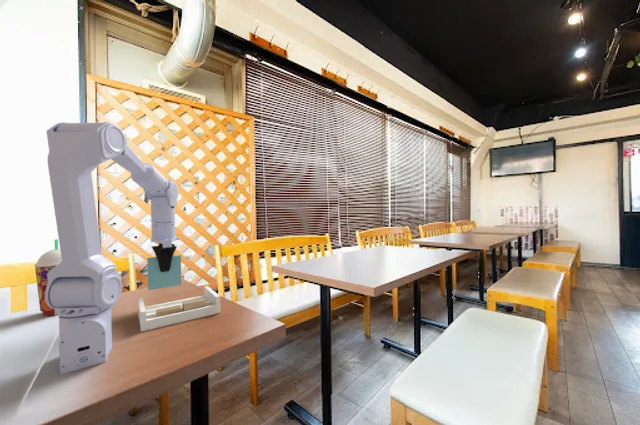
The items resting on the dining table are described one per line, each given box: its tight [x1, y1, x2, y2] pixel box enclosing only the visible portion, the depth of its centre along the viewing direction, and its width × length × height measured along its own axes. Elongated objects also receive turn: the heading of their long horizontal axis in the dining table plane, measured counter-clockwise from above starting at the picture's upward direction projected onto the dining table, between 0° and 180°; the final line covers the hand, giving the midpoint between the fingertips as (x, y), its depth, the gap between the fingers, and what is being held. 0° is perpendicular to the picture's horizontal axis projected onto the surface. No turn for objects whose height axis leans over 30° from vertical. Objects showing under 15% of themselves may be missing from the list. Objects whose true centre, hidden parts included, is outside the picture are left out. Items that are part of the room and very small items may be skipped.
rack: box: [137, 286, 221, 332], centre depth 68 cm, size 12×17×5 cm
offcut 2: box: [182, 298, 206, 311], centre depth 67 cm, size 2×5×4 cm, turn 127°
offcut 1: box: [156, 305, 181, 317], centre depth 64 cm, size 2×5×3 cm, turn 127°
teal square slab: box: [147, 254, 182, 291], centre depth 75 cm, size 2×8×8 cm, turn 127°
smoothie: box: [34, 238, 62, 317], centre depth 74 cm, size 8×8×20 cm
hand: (164, 270), depth 75 cm, fingers closed on teal square slab, 2 cm apart
